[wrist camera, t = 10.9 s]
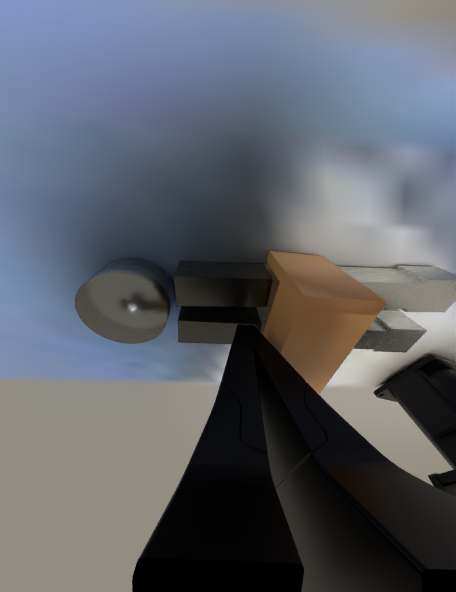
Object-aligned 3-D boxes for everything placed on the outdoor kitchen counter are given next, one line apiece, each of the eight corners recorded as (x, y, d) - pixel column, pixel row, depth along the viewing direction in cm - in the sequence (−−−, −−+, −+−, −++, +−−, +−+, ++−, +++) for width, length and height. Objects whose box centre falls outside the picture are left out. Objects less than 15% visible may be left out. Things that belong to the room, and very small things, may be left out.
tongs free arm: (182, 290, 10) (177, 309, 9) (179, 257, 9) (172, 272, 8) (414, 295, 12) (444, 312, 10) (436, 267, 11) (473, 281, 9)
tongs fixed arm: (110, 317, 11) (90, 344, 9) (91, 253, 9) (60, 273, 7) (382, 331, 14) (408, 354, 12) (420, 283, 12) (460, 303, 10)
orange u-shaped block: (246, 338, 13) (259, 400, 9) (269, 250, 9) (305, 295, 6) (286, 339, 13) (314, 400, 9) (322, 256, 10) (387, 301, 6)
